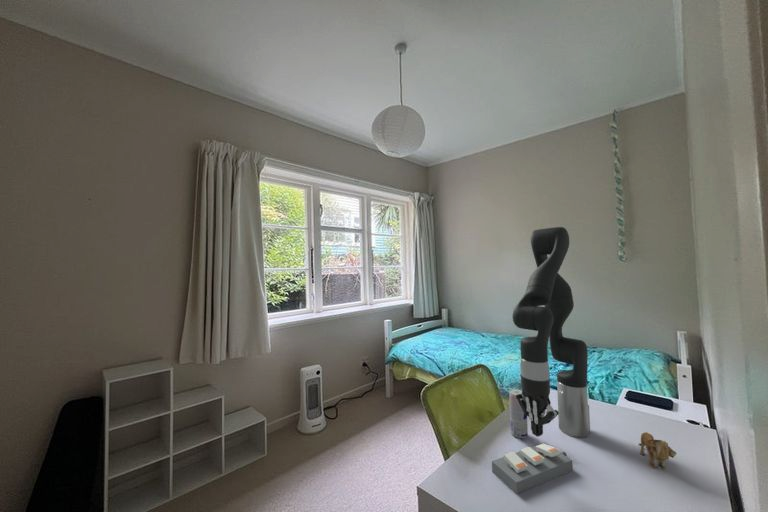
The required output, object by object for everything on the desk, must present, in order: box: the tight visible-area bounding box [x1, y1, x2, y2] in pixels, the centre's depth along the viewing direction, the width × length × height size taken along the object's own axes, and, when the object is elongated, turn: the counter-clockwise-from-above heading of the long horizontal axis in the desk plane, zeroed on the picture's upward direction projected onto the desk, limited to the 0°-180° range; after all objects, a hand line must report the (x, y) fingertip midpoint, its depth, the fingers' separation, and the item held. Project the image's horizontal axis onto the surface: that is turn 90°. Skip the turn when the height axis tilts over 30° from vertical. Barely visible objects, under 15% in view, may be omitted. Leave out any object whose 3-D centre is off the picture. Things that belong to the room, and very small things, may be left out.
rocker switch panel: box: [491, 442, 574, 495], centre depth 85 cm, size 25×9×3 cm, turn 112°
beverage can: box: [508, 388, 529, 439], centre depth 102 cm, size 6×6×15 cm
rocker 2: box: [535, 443, 561, 457], centre depth 87 cm, size 4×5×2 cm
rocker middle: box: [519, 446, 544, 465], centre depth 84 cm, size 4×5×2 cm
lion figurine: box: [638, 431, 677, 470], centre depth 88 cm, size 15×5×9 cm, turn 165°
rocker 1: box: [503, 450, 528, 473], centre depth 82 cm, size 4×5×2 cm
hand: (537, 434), depth 83 cm, fingers closed
